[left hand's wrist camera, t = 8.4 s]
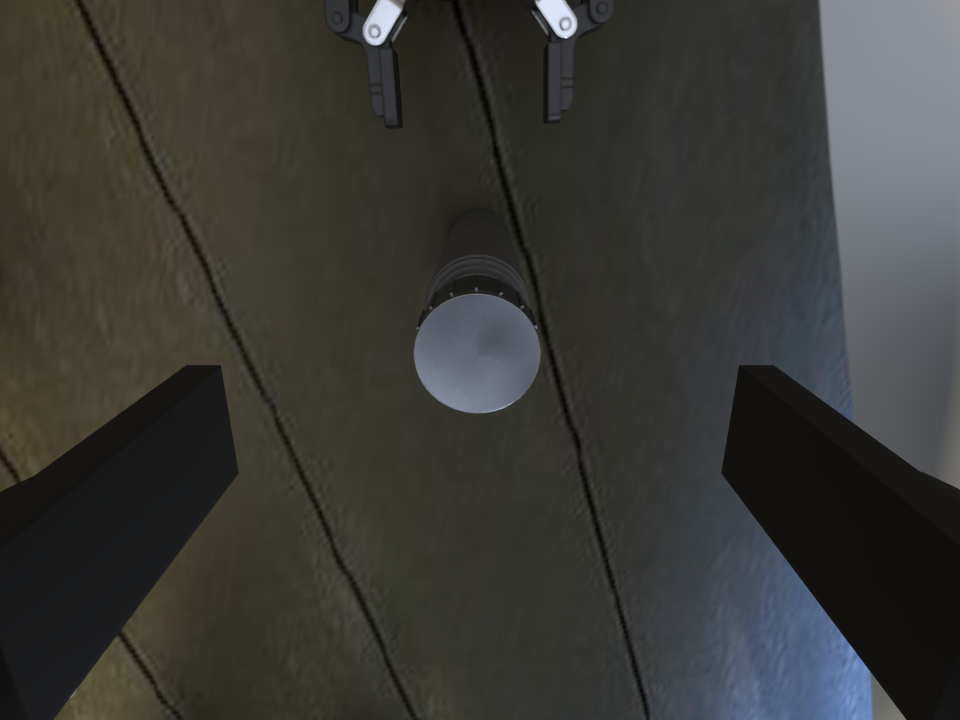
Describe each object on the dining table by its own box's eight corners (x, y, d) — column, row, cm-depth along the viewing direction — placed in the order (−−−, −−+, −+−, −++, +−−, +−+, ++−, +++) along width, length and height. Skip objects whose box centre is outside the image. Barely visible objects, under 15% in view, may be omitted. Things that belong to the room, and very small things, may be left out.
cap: (399, 346, 20) (388, 373, 17) (459, 251, 19) (456, 266, 16) (493, 402, 20) (495, 435, 18) (556, 314, 19) (567, 337, 17)
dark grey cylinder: (437, 248, 40) (385, 369, 18) (469, 197, 39) (456, 258, 16) (487, 279, 41) (495, 434, 18) (519, 230, 39) (571, 332, 17)
